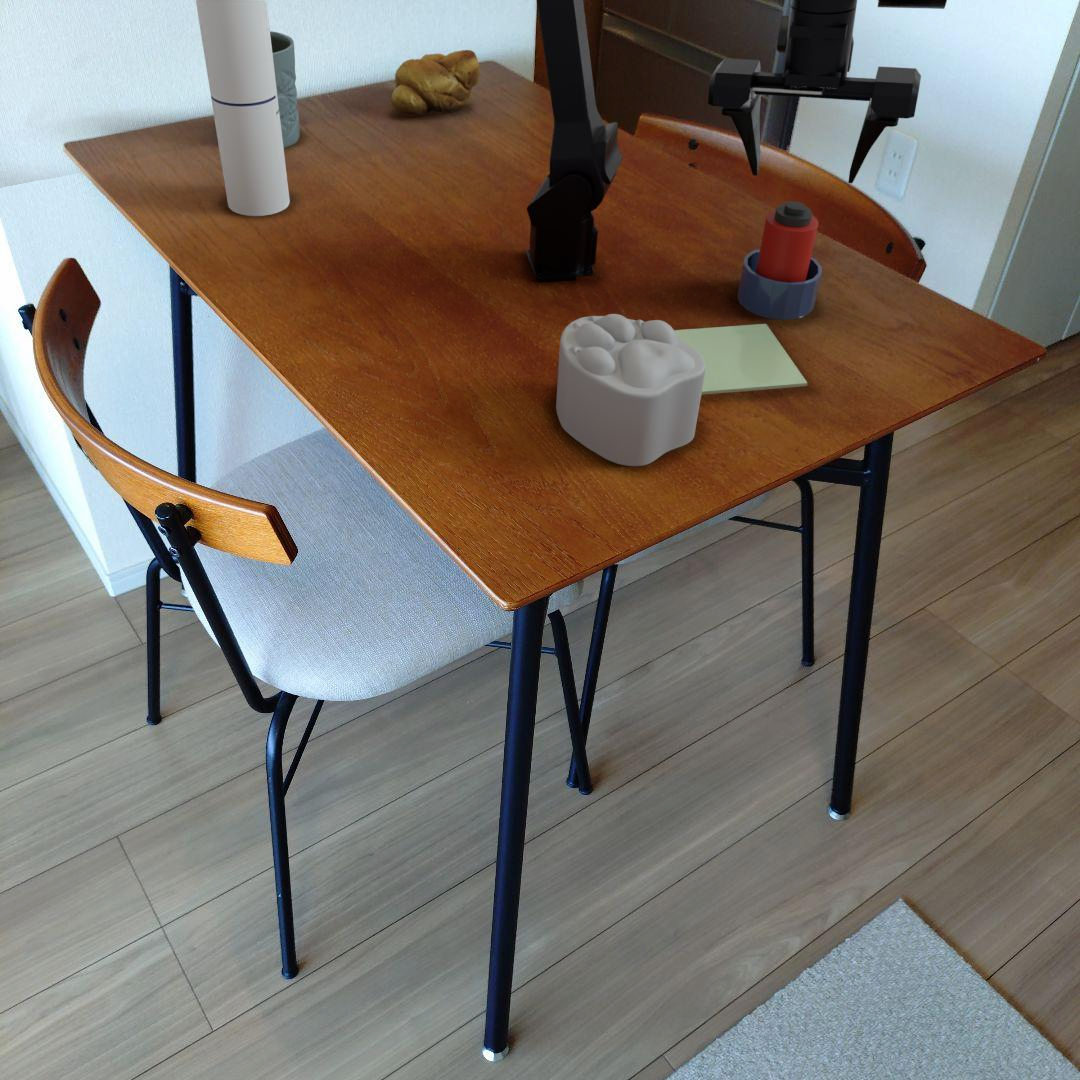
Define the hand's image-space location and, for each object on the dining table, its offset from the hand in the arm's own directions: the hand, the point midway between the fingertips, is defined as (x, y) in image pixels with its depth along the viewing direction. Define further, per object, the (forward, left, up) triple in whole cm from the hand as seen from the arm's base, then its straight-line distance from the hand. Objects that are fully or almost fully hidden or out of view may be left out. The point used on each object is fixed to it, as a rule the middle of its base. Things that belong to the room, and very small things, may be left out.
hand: (802, 177), depth 105 cm
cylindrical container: (-53, +30, -14) cm, 63 cm away
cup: (0, -1, -14) cm, 14 cm away
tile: (-9, -11, -14) cm, 20 cm away
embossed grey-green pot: (-52, +50, -14) cm, 74 cm away
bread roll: (-29, +59, -14) cm, 68 cm away
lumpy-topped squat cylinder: (-22, -19, -14) cm, 32 cm away
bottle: (0, -1, -13) cm, 13 cm away
